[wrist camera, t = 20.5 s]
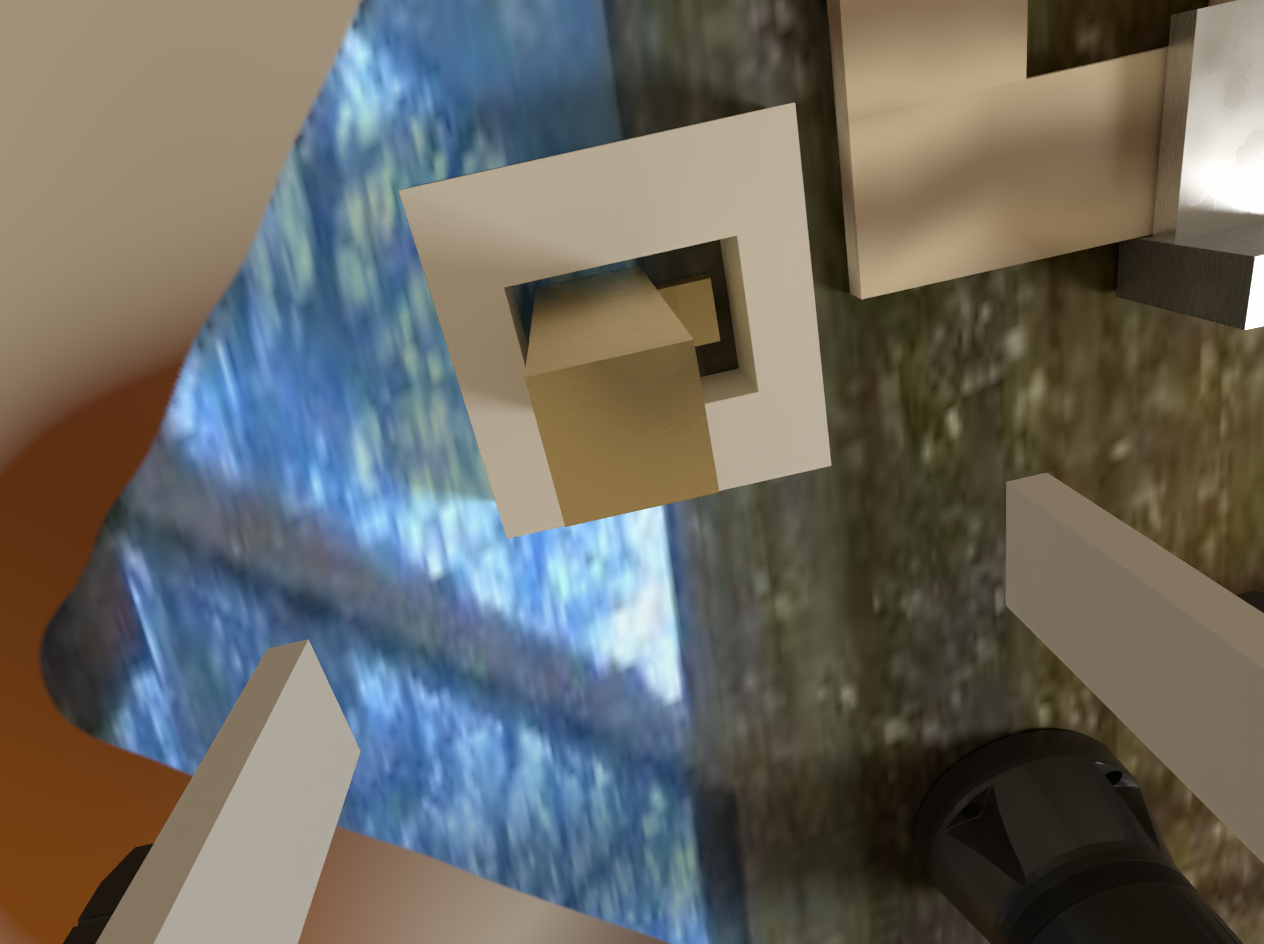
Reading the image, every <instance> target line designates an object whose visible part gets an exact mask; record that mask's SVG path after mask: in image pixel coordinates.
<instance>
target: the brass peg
mask: <svg viewBox="0 0 1264 944" xmlns="http://www.w3.org/2000/svg"><path fill="white" fill-rule="evenodd" d="M717 341H720V336H719V330H718V323H717V317H716V310H715V304H714V297H713V291H712V285H711V278H710V277H709V276H707V275H706V274H705V273H703V274H698V275H694V276H690V277H685V278H681V279H676V280H672V281H667V282H663V283H658V284H654V285H653V284H652V282H651V281H650V280H649V278H648V277H647V276H646V274H645V273H644V272H643V270H642V269H641V267H640V266H636V267H632V268H627V269H623V270H618V271H614V272H609V273H605V274H601V275H596V276H592V277H587V278H583V279H578V280H574V281H569V282H565V283H560V284H556V285H551V286H547V287H542V288H538V289H536V294H535V301H534V309H533V316H532V324H531V331H530V339H529V347H528V354H527V362H526V369H525V377H524V378H525V381H526V385H527V389H528V393H529V396H530V400H531V404H532V407H533V411H534V415H535V418H536V422H537V426H538V429H539V433H540V437H541V440H542V444H543V448H544V451H545V455H546V459H547V462H548V466H549V470H550V473H551V477H552V481H553V484H554V488H555V492H556V495H557V499H558V503H559V506H560V510H561V514H562V517H563V521H564V525H565V527H567V526H572V525H576V524H581V523H585V522H589V521H594V520H598V519H603V518H607V517H612V516H616V515H620V514H625V513H629V512H634V511H638V510H643V509H647V508H651V507H656V506H660V505H665V504H669V503H674V502H678V501H682V500H687V499H691V498H696V497H700V496H705V495H709V494H713V493H718V492H719V486H718V480H717V474H716V468H715V462H714V457H713V451H712V445H711V439H710V433H709V427H708V421H707V416H706V410H705V404H704V398H703V392H702V386H701V380H700V375H699V369H698V363H697V357H696V351H695V346H700V345H704V344H708V343H713V342H717Z"/></svg>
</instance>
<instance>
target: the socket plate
mask: <svg viewBox="0 0 1264 944" xmlns="http://www.w3.org/2000/svg"><path fill="white" fill-rule="evenodd" d="M1232 1H1236V0H1209V4H1208V7H1209V6H1214V5H1218V4H1223V3H1227V2H1232ZM1027 6H1028V0H827V8H828V21H829V33H830V46H831V59H832V71H833V84H834V96H835V109H836V122H837V134H838V147H839V159H840V172H841V184H842V197H843V210H844V222H845V235H846V247H847V260H848V273H849V285H850V294H852V295H854V296H856V297H858V298H860V299H865V298H870V297H874V296H879V295H883V294H888V293H892V292H897V291H901V290H906V289H910V288H915V287H919V286H923V285H928V284H932V283H937V282H941V281H946V280H950V279H955V278H959V277H964V276H968V275H973V274H977V273H981V272H986V271H990V270H995V269H999V268H1004V267H1008V266H1013V265H1017V264H1022V263H1026V262H1031V261H1035V260H1039V259H1044V258H1048V257H1053V256H1057V255H1062V254H1066V253H1071V252H1075V251H1080V250H1084V249H1089V248H1093V247H1097V246H1102V245H1106V244H1111V243H1115V242H1120V241H1124V240H1129V239H1133V238H1138V237H1142V236H1147V235H1151V234H1153V224H1154V212H1155V200H1156V189H1157V177H1158V165H1159V153H1160V142H1161V130H1162V118H1163V106H1164V95H1165V83H1166V71H1167V59H1168V48H1169V46H1167V47H1163V48H1158V49H1154V50H1149V51H1145V52H1140V53H1136V54H1131V55H1127V56H1122V57H1118V58H1113V59H1109V60H1104V61H1100V62H1095V63H1091V64H1086V65H1082V66H1077V67H1073V68H1068V69H1064V70H1059V71H1055V72H1050V73H1046V74H1041V75H1037V76H1032V77H1028V78H1026V68H1027Z"/></svg>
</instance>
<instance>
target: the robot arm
mask: <svg viewBox="0 0 1264 944" xmlns="http://www.w3.org/2000/svg"><path fill="white" fill-rule="evenodd" d="M1006 606H1007V607H1008V608H1009V609H1010V610H1011V611H1012V612H1013V613H1014V614H1015V615H1016V616H1017V617H1018V618H1019V619H1020V620H1021V621H1022V622H1023V623H1024V624H1025V625H1026V626H1027V627H1028V628H1029V629H1030V630H1031V631H1032V632H1033V633H1034V634H1035V635H1036V636H1037V637H1038V638H1039V639H1040V640H1041V641H1042V642H1043V643H1044V644H1045V645H1046V646H1047V647H1048V648H1049V649H1050V650H1051V651H1052V652H1053V653H1054V654H1055V655H1056V656H1057V657H1058V658H1059V659H1060V660H1061V661H1062V662H1063V663H1064V664H1065V665H1066V666H1067V667H1068V668H1069V669H1070V670H1071V671H1072V672H1073V673H1074V674H1075V675H1076V676H1077V677H1078V678H1079V679H1080V680H1081V681H1082V682H1083V683H1084V684H1085V685H1086V686H1087V687H1088V688H1089V689H1090V690H1091V691H1092V692H1093V693H1094V694H1095V695H1096V696H1097V697H1098V698H1099V699H1100V700H1101V701H1102V702H1103V703H1104V704H1105V705H1106V706H1107V707H1108V708H1109V709H1110V710H1111V711H1112V712H1113V713H1114V714H1115V715H1116V716H1117V717H1118V718H1119V719H1120V720H1121V721H1122V722H1123V723H1124V724H1125V725H1126V726H1127V727H1128V728H1129V729H1130V730H1131V731H1132V732H1133V733H1134V734H1135V735H1136V736H1137V737H1138V738H1139V739H1140V740H1141V741H1142V742H1143V743H1144V744H1145V745H1146V746H1147V747H1148V748H1149V749H1150V750H1151V751H1152V752H1153V753H1154V754H1155V755H1156V756H1157V757H1158V758H1159V759H1160V760H1161V761H1162V762H1163V763H1164V764H1165V765H1166V766H1167V767H1168V768H1169V769H1170V770H1171V771H1172V772H1173V773H1174V774H1175V775H1176V776H1177V777H1178V778H1179V779H1180V780H1181V781H1182V782H1183V783H1184V784H1185V785H1186V786H1187V787H1188V788H1189V789H1190V790H1191V791H1192V792H1193V793H1194V794H1195V795H1196V796H1197V797H1198V798H1199V799H1200V800H1201V801H1202V802H1203V803H1204V804H1205V805H1206V806H1207V807H1208V808H1209V809H1210V810H1211V811H1212V812H1213V813H1214V814H1215V815H1216V816H1217V817H1218V818H1219V819H1220V820H1221V821H1222V822H1223V823H1224V824H1225V825H1226V826H1227V827H1228V828H1229V829H1230V830H1231V831H1232V832H1233V833H1234V834H1235V835H1236V836H1237V837H1238V838H1239V839H1240V840H1241V841H1242V842H1243V843H1244V844H1245V845H1246V846H1247V847H1248V848H1249V849H1250V850H1251V851H1252V852H1253V853H1254V854H1255V855H1256V856H1257V857H1258V858H1259V859H1260V860H1261V861H1262V862H1263V863H1264V594H1262V593H1260V592H1257V591H1252V592H1247V593H1243V594H1238V595H1235V594H1233V593H1231V592H1230V591H1228V590H1227V589H1225V588H1224V587H1222V586H1221V585H1219V584H1218V583H1216V582H1215V581H1213V580H1211V579H1210V578H1208V577H1207V576H1205V575H1204V574H1202V573H1201V572H1199V571H1198V570H1196V569H1194V568H1193V567H1191V566H1190V565H1188V564H1187V563H1185V562H1184V561H1182V560H1181V559H1179V558H1178V557H1176V556H1174V555H1173V554H1171V553H1170V552H1168V551H1167V550H1165V549H1164V548H1162V547H1161V546H1159V545H1157V544H1156V543H1154V542H1153V541H1151V540H1150V539H1148V538H1147V537H1145V536H1144V535H1142V534H1141V533H1139V532H1137V531H1136V530H1134V529H1133V528H1131V527H1130V526H1128V525H1127V524H1125V523H1124V522H1122V521H1120V520H1119V519H1117V518H1116V517H1114V516H1113V515H1111V514H1110V513H1108V512H1107V511H1105V510H1104V509H1102V508H1100V507H1099V506H1097V505H1096V504H1094V503H1093V502H1091V501H1090V500H1088V499H1087V498H1085V497H1084V496H1082V495H1080V494H1079V493H1077V492H1076V491H1074V490H1073V489H1071V488H1070V487H1068V486H1067V485H1065V484H1063V483H1062V482H1060V481H1059V480H1057V479H1056V478H1054V477H1053V476H1051V475H1050V474H1048V473H1044V474H1039V475H1035V476H1030V477H1026V478H1021V479H1017V480H1013V481H1008V482H1006ZM359 754H360V749H359V747H358V745H357V743H356V741H355V739H354V736H353V734H352V732H351V730H350V728H349V726H348V724H347V721H346V719H345V717H344V715H343V713H342V711H341V708H340V706H339V704H338V702H337V700H336V698H335V696H334V693H333V691H332V689H331V687H330V685H329V683H328V681H327V678H326V676H325V674H324V672H323V670H322V668H321V666H320V663H319V661H318V659H317V657H316V655H315V653H314V651H313V648H312V646H311V644H310V642H309V640H304V641H300V642H295V643H291V644H286V645H282V646H278V647H273V648H269V649H267V650H266V652H265V654H264V655H263V657H262V659H261V661H260V662H259V664H258V666H257V667H256V669H255V671H254V673H253V674H252V676H251V678H250V679H249V681H248V683H247V685H246V686H245V688H244V690H243V692H242V693H241V695H240V697H239V698H238V700H237V702H236V704H235V705H234V707H233V709H232V710H231V712H230V714H229V716H228V717H227V719H226V721H225V722H224V724H223V726H222V728H221V729H220V731H219V733H218V734H217V736H216V738H215V740H214V741H213V743H212V745H211V746H210V748H209V750H208V752H207V753H206V755H205V757H204V758H203V760H202V762H201V764H200V765H199V767H198V769H197V770H196V772H195V774H194V776H193V777H192V779H191V781H190V783H189V784H188V786H187V788H186V789H185V791H184V793H183V795H182V796H181V798H180V800H179V801H178V803H177V805H176V807H175V808H174V810H173V812H172V813H171V815H170V817H169V819H168V820H167V822H166V824H165V825H164V827H163V829H162V831H161V833H160V834H159V836H158V837H157V839H156V841H155V843H153V844H149V845H144V846H140V847H135V848H134V849H133V850H132V851H131V852H130V853H129V854H128V855H127V856H126V857H125V858H124V859H123V860H122V861H121V862H120V863H119V865H118V866H117V867H116V868H115V869H114V870H113V871H112V872H111V873H110V874H109V875H108V876H107V877H106V878H105V879H104V880H103V881H102V882H101V883H100V885H99V887H98V888H97V890H96V891H95V893H94V895H93V896H92V898H91V899H90V901H89V903H88V904H87V906H86V907H85V909H84V911H83V912H82V914H81V916H80V917H79V919H78V926H77V927H73V928H72V930H71V932H70V933H69V935H68V936H67V938H66V940H65V941H64V943H63V944H298V941H299V938H300V935H301V932H302V929H303V926H304V923H305V920H306V917H307V914H308V911H309V908H310V904H311V901H312V898H313V895H314V892H315V889H316V886H317V883H318V880H319V877H320V874H321V871H322V868H323V865H324V862H325V858H326V856H327V852H328V849H329V846H330V843H331V840H332V837H333V834H334V831H335V828H336V825H337V822H338V819H339V816H340V813H341V810H342V807H343V803H344V800H345V797H346V794H347V791H348V788H349V785H350V782H351V779H352V776H353V773H354V770H355V767H356V764H357V761H358V758H359ZM915 843H916V848H917V851H918V854H919V856H920V858H921V860H922V862H923V863H924V865H925V867H926V869H927V871H928V873H929V875H930V877H931V879H932V881H933V882H934V884H935V885H936V887H937V888H938V889H939V891H940V892H941V893H942V894H943V895H944V896H945V897H946V899H947V900H948V901H949V902H950V903H951V904H952V905H953V906H954V907H955V908H956V909H957V910H958V911H959V912H960V913H961V914H962V915H963V916H964V917H965V918H966V919H967V920H968V921H969V922H970V923H971V924H972V925H973V926H974V927H975V928H976V929H977V930H978V931H979V932H980V933H981V934H982V935H983V936H984V937H985V938H986V939H987V940H988V941H989V942H990V943H991V944H1243V943H1242V941H1241V940H1240V939H1239V938H1238V937H1237V936H1236V935H1235V933H1234V932H1233V931H1232V930H1231V929H1230V928H1229V927H1228V926H1227V924H1226V923H1225V922H1224V921H1223V920H1222V919H1221V918H1220V916H1219V915H1218V914H1217V913H1216V912H1215V911H1214V910H1213V908H1212V907H1211V906H1210V905H1209V904H1208V903H1207V902H1206V900H1205V899H1204V898H1203V897H1202V896H1201V895H1200V894H1199V893H1198V892H1197V891H1196V889H1195V888H1194V887H1193V886H1192V885H1191V884H1190V882H1189V881H1188V880H1187V879H1186V878H1185V876H1184V875H1183V874H1182V873H1181V872H1180V871H1179V869H1178V868H1177V867H1176V865H1175V863H1174V861H1173V859H1172V856H1171V854H1170V852H1169V850H1168V848H1167V846H1166V843H1165V841H1164V839H1163V837H1162V835H1161V832H1160V830H1159V828H1158V826H1157V824H1156V821H1155V819H1154V817H1153V815H1152V813H1151V810H1150V808H1149V806H1148V804H1147V802H1146V799H1145V797H1144V795H1143V793H1142V791H1141V789H1140V787H1139V785H1138V783H1137V782H1136V780H1135V779H1134V777H1133V776H1132V774H1131V773H1130V772H1129V771H1128V770H1127V769H1126V768H1125V767H1124V766H1123V764H1122V763H1121V762H1120V761H1119V760H1118V759H1117V758H1116V757H1115V756H1114V755H1113V754H1112V752H1111V751H1110V750H1109V749H1108V748H1107V747H1105V746H1104V745H1103V744H1101V743H1100V742H1098V741H1097V740H1095V739H1093V738H1091V737H1089V736H1086V735H1083V734H1080V733H1076V732H1071V731H1064V730H1039V731H1031V732H1026V733H1021V734H1017V735H1013V736H1009V737H1006V738H1003V739H1001V740H998V741H995V742H993V743H991V744H988V745H986V746H984V747H982V748H980V749H979V750H977V751H975V752H973V753H972V754H970V755H968V756H967V757H965V758H964V759H962V760H961V761H960V762H958V763H957V764H956V765H954V766H953V767H952V768H951V769H950V770H949V771H948V772H946V773H945V774H944V775H943V776H942V777H941V778H940V780H939V781H938V782H937V783H936V784H935V785H934V787H933V788H932V789H931V791H930V792H929V794H928V795H927V797H926V798H925V800H924V802H923V804H922V806H921V808H920V811H919V813H918V816H917V820H916V825H915Z"/></svg>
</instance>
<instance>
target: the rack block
mask: <svg viewBox="0 0 1264 944" xmlns="http://www.w3.org/2000/svg"><path fill="white" fill-rule="evenodd" d="M399 193H400V197H401V200H402V203H403V206H404V209H405V213H406V216H407V219H408V222H409V225H410V229H411V232H412V235H413V238H414V242H415V245H416V248H417V251H418V254H419V258H420V261H421V264H422V267H423V270H424V274H425V277H426V280H427V283H428V286H429V290H430V293H431V296H432V299H433V303H434V306H435V309H436V312H437V315H438V319H439V322H440V325H441V328H442V331H443V335H444V338H445V341H446V344H447V347H448V351H449V354H450V357H451V360H452V364H453V367H454V370H455V373H456V376H457V380H458V383H459V386H460V389H461V392H462V396H463V399H464V402H465V405H466V408H467V412H468V415H469V418H470V421H471V425H472V428H473V431H474V434H475V437H476V441H477V444H478V447H479V450H480V453H481V457H482V460H483V463H484V466H485V470H486V473H487V476H488V479H489V482H490V486H491V489H492V492H493V495H494V498H495V502H496V505H497V508H498V511H499V514H500V518H501V521H502V524H503V527H504V531H505V534H506V537H507V539H508V538H513V537H517V536H522V535H526V534H530V533H535V532H539V531H544V530H548V529H553V528H557V527H561V526H565V525H564V521H563V517H562V514H561V510H560V506H559V503H558V499H557V495H556V492H555V488H554V484H553V481H552V477H551V473H550V470H549V466H548V462H547V459H546V455H545V451H544V448H543V444H542V440H541V437H540V433H539V429H538V426H537V422H536V418H535V415H534V411H533V407H532V404H531V400H530V396H529V393H528V389H527V385H526V381H525V378H524V377H525V369H526V362H527V354H528V347H529V346H528V342H527V339H526V335H525V331H524V327H523V323H522V320H521V316H520V312H519V308H518V305H517V301H516V297H515V293H514V289H513V285H518V284H522V283H527V282H531V281H536V280H540V279H545V278H549V277H554V276H558V275H563V274H567V273H572V272H576V271H581V270H585V269H589V268H594V267H598V266H603V265H607V264H612V263H616V262H621V261H625V260H630V259H634V258H639V257H643V256H648V255H652V254H657V253H661V252H666V251H670V250H675V249H679V248H684V247H688V246H692V245H697V244H701V243H706V242H710V241H715V240H719V239H720V245H721V251H722V258H723V265H724V272H725V279H726V285H727V292H728V299H729V306H730V313H731V319H732V326H733V333H734V340H735V347H736V353H737V360H738V367H739V369H734V370H730V371H725V372H721V373H716V374H712V375H707V376H703V377H700V380H701V386H702V392H703V398H704V404H705V410H706V416H707V421H708V427H709V433H710V439H711V445H712V451H713V457H714V462H715V468H716V474H717V480H718V486H719V491H721V490H725V489H730V488H734V487H739V486H743V485H748V484H752V483H756V482H761V481H765V480H770V479H774V478H779V477H783V476H787V475H792V474H796V473H801V472H805V471H810V470H814V469H818V468H823V467H827V466H831V458H830V448H829V438H828V428H827V418H826V408H825V398H824V388H823V378H822V368H821V358H820V348H819V338H818V328H817V317H816V307H815V297H814V287H813V277H812V267H811V257H810V247H809V237H808V227H807V217H806V207H805V197H804V187H803V177H802V167H801V156H800V146H799V136H798V126H797V116H796V106H795V103H790V104H785V105H780V106H775V107H770V108H765V109H761V110H756V111H752V112H747V113H743V114H738V115H734V116H729V117H725V118H720V119H716V120H711V121H707V122H702V123H698V124H693V125H689V126H684V127H680V128H675V129H671V130H666V131H662V132H657V133H653V134H648V135H644V136H639V137H635V138H630V139H626V140H621V141H617V142H612V143H608V144H603V145H599V146H594V147H590V148H585V149H581V150H576V151H572V152H567V153H563V154H558V155H554V156H549V157H545V158H540V159H536V160H531V161H527V162H522V163H518V164H513V165H509V166H504V167H500V168H495V169H491V170H486V171H482V172H477V173H473V174H468V175H464V176H459V177H455V178H450V179H446V180H441V181H437V182H432V183H428V184H423V185H419V186H414V187H411V188H407V189H403V190H399Z"/></svg>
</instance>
